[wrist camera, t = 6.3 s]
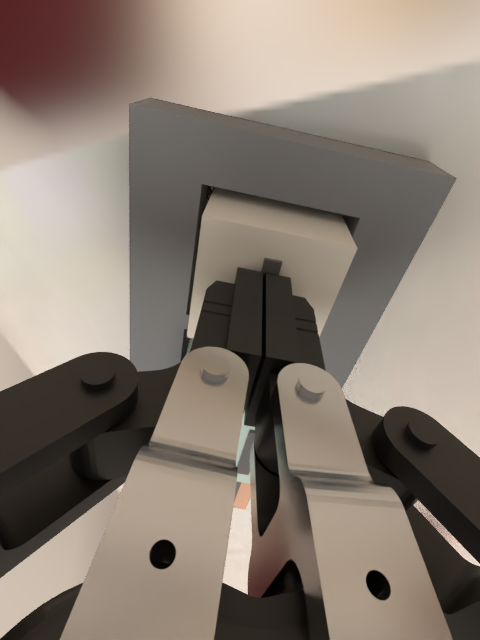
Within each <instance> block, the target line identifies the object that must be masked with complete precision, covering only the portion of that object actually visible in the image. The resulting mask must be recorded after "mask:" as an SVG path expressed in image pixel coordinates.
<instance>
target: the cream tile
mask: <svg viewBox="0 0 480 640" xmlns="http://www.w3.org/2000/svg"><path fill="white" fill-rule="evenodd" d="M357 249H358V248H357V246H356V244H355V242H354V240H353V238H352V236H351V234H350V232H349V229H348V227H347V225H346V223H345V221H344V219H343V217H342V215H341V214H338V213H334V212H329V211H324V210H320V209H315V208H310V207H306V206H301V205H297V204H292V203H287V202H283V201H278V200H273V199H269V198H264V197H260V196H255V195H250V194H246V193H241V192H236V191H232V190H227V189H223V188H218V187H214V190H213V192H212V194H211V196H210V199H209V201H208V203H207V206H206V208H205V210H204V213H203V215H202V221H201V229H200V236H199V244H198V252H197V260H196V268H195V276H194V283H193V291H192V299H191V307H190V315H189V323H188V330H187V337H188V338H193V339H194V335H195V331H196V327H197V323H198V319H199V316H200V312H201V308H202V304H203V301H204V297H205V293H206V289H207V288H208V287H209V286H210V285H212V284H213V283H214V282H215V281H216V280H217V281H222V282H228V283H233V284H234V282H235V277H236V272H237V268H238V267H240V268H245V269H250V270H255V271H260V272H263V276H264V274H265V272H266V273H271V274H276V275H281V276H286V277H290V278H291V285H292V294H293V295H294V296H299V297H304V298H306V300H307V301H308V302H309V304H310V305H311V306H312V308H313V309H314V313H315V318H316V324H317V328H318V334H319V337H320V334H321V332H322V330H323V327H324V325H325V323H326V320H327V318H328V316H329V314H330V311H331V309H332V307H333V304H334V302H335V300H336V297H337V295H338V293H339V290H340V288H341V286H342V283H343V281H344V279H345V276H346V274H347V272H348V269H349V267H350V265H351V262H352V260H353V258H354V255H355V253H356V251H357Z"/></svg>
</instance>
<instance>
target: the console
mask: <svg viewBox="0 0 480 640" xmlns="http://www.w3.org/2000/svg"><path fill="white" fill-rule="evenodd" d="M455 180H456V178H455V177H453V176H452V175H450V174H448V173H447V172H445V171H444V170H442V169H440V168H439V167H437V166H436V165H434V164H432V163H431V162H428V161H424V160H420V159H415V158H411V157H407V156H402V155H398V154H394V153H389V152H385V151H380V150H376V149H372V148H367V147H363V146H359V145H354V144H350V143H346V142H341V141H337V140H332V139H328V138H324V137H319V136H315V135H311V134H306V133H302V132H297V131H293V130H289V129H284V128H280V127H276V126H271V125H267V124H263V123H258V122H254V121H249V120H245V119H241V118H236V117H232V116H228V115H223V114H219V113H215V112H210V111H205V110H201V109H197V108H192V107H188V106H184V105H180V104H175V103H171V102H167V101H162V100H158V99H153V98H148V99H145V100H141V101H138V102H135V103H131V104H130V105H129V183H130V361H131V362H132V363H133V365H134V366H135V367H136V369H137V372H139V371H153V370H162V369H166V368H169V367H172V366H175V365H176V364H178V363H180V362H181V361H182V360H183V358H184V357H185V356H186V352H187V345H188V337H187V330H188V323H189V315H190V307H191V299H192V291H193V283H194V276H195V268H196V260H197V252H198V244H199V236H200V229H201V221H202V215H203V213H204V210H205V208H206V201H207V193H208V186H213V187H218V188H223V189H227V190H232V191H236V192H241V193H246V194H250V195H255V196H260V197H264V198H269V199H273V200H278V201H283V202H287V203H292V204H297V205H301V206H306V207H310V208H315V209H320V210H324V211H329V212H334V213H338V214H342V217H343V219H344V221H345V223H346V225H347V227H348V229H349V232H350V234H351V236H352V238H353V240H354V242H355V244H356V246H357V248H358V249H357V251H356V253H355V255H354V258H353V260H352V262H351V265H350V267H349V269H348V272H347V274H346V276H345V279H344V281H343V283H342V286H341V288H340V290H339V293H338V295H337V297H336V300H335V302H334V304H333V307H332V309H331V311H330V314H329V316H328V318H327V320H326V323H325V325H324V327H323V330H322V332H321V334H320V337H319V338H320V344H321V349H322V354H323V359H324V364H325V370H326V372H328V373H329V374H330V375H332V376H333V377H334V378H335V379H336V381H337V382H338V383H339V385H340V386H341V388H342V387H343V385H344V383H345V382H346V380H347V378H348V376H349V374H350V372H351V371H352V369H353V367H354V365H355V363H356V361H357V360H358V358H359V356H360V354H361V352H362V350H363V349H364V347H365V345H366V343H367V341H368V340H369V338H370V336H371V334H372V332H373V330H374V329H375V327H376V325H377V323H378V321H379V319H380V318H381V316H382V314H383V312H384V310H385V308H386V307H387V305H388V303H389V301H390V299H391V297H392V296H393V294H394V292H395V290H396V288H397V286H398V285H399V283H400V281H401V279H402V277H403V275H404V274H405V272H406V270H407V268H408V266H409V264H410V263H411V261H412V259H413V257H414V255H415V253H416V252H417V250H418V248H419V246H420V244H421V243H422V241H423V239H424V237H425V235H426V233H427V232H428V230H429V228H430V226H431V224H432V222H433V221H434V219H435V217H436V215H437V213H438V211H439V210H440V208H441V206H442V204H443V202H444V200H445V199H446V197H447V195H448V193H449V191H450V189H451V188H452V186H453V184H454V182H455Z"/></svg>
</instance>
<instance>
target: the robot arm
mask: <svg viewBox="0 0 480 640" xmlns="http://www.w3.org/2000/svg"><path fill="white" fill-rule="evenodd" d="M244 410H245V416H244V425H246V426H252V427H255V440H254V442H253V445H252V448H251V451H250V486H251V515H252V550H251V556H250V562H249V571H248V595H247V594H245V593H243V592H241V591H239V590H237V589H235V588H233V587H231V586H228V585H226V584H224V583H222V580H223V573H224V566H225V560H226V553H227V546H228V539H229V532H230V525H231V518H232V511H233V504H234V498H235V491H236V483H237V473H238V468H237V466H236V457H237V450H238V444H239V437H240V431H241V424H242V418H243V413H244ZM124 482H125V484H124V486H123V489H122V491H121V493H120V496H119V498H118V501H117V503H116V506H115V508H114V510H113V513H112V515H111V517H110V520H109V522H108V525H107V527H106V529H105V532H104V534H103V537H102V539H101V542H100V544H99V546H98V549H97V551H96V554H95V556H94V559H93V561H92V563H91V566H90V568H89V571H88V573H87V576H86V578H85V580H84V582H83V583H81V584H79V585H77V586H75V587H73V588H71V589H68V590H66V591H64V592H62V593H61V594H59V595H57V596H56V597H54V598H52V599H50V600H49V601H47V602H46V603H44V604H42V605H41V606H40V607H38V608H37V609H36V610H34V611H33V612H32V613H30V614H29V615H28V616H26V617H25V618H24V619H22V620H21V621H20V622H19V623H18V624H17V625H15V626H14V627H13V628H12V629H11V630H10V631H9V632H7V633H6V634H5V635H4V636H3V637H2V638H1V639H0V640H480V566H476V565H474V564H472V563H470V562H468V561H467V560H465V559H464V558H463V557H462V556H461V555H460V554H459V553H458V552H457V551H456V550H455V549H454V548H453V547H452V546H451V545H450V544H449V543H448V542H447V541H446V540H445V538H444V537H443V536H442V535H441V534H440V533H439V532H438V531H437V530H436V529H435V528H434V527H433V526H432V525H431V524H430V523H429V522H428V520H427V519H426V518H425V517H424V516H423V515H422V514H421V513H420V512H419V511H418V510H417V509H416V508H415V507H414V506H413V504H415V503H416V502H417V501H418V500H419V501H420V502H421V503H422V504H423V505H424V506H425V507H426V508H427V509H428V510H429V511H430V512H431V514H432V515H433V516H434V517H435V518H436V519H437V520H438V521H439V522H440V523H441V524H442V525H443V526H444V527H445V528H446V529H447V530H448V531H449V532H450V533H451V534H452V535H453V536H454V537H455V538H456V539H457V540H458V542H459V543H460V544H461V545H462V546H463V547H464V548H465V549H466V550H467V551H468V552H469V553H470V554H471V555H472V556H473V557H474V558H475V559H476V560H477V561H478V562H479V563H480V457H478V456H477V455H476V454H475V453H474V452H472V451H471V450H470V449H469V448H468V447H467V446H465V445H464V444H463V443H462V442H461V441H460V440H458V439H457V438H456V437H455V436H454V435H452V434H451V433H450V432H449V431H448V430H447V429H445V428H444V427H443V426H442V425H441V424H440V423H438V422H437V421H436V420H435V419H433V418H432V417H430V416H429V415H427V414H425V413H423V412H421V411H419V410H417V409H414V408H410V407H404V406H401V407H394V408H392V409H390V410H389V411H387V413H386V414H385V416H384V417H382V416H380V415H377V414H375V413H373V412H370V411H368V410H366V409H364V408H361V407H359V406H357V405H355V404H353V403H351V402H350V401H348V400H347V399H345V397H344V394H343V391H342V388H341V386H340V385H339V383H338V382H337V381H336V379H335V378H334V377H333V376H332V375H330V374H329V373H328V372H326V370H325V364H324V359H323V354H322V349H321V344H320V338H319V334H318V328H317V324H316V318H315V313H314V309H313V308H312V306H311V305H310V304H309V302H308V301H307V300H306V298H304V297H299V296H294V295H293V294H292V285H291V278H290V277H286V276H281V275H276V274H271V273H266V272H265V274H264V276H263V272H260V271H255V270H250V269H245V268H240V267H238V268H237V272H236V277H235V282H234V284H233V283H228V282H222V281H217V280H216V281H215V282H214V283H213V284H212V285H210V286H209V287H208V288H207V289H206V293H205V297H204V301H203V304H202V308H201V312H200V316H199V319H198V323H197V327H196V331H195V335H194V339H193V342H192V346H191V349H190V352H189V353H188V354H187V355H186V356H185V357H184V358H183V360H182V361H181V362H180V363H178V364H176V365H175V366H172V367H169V368H166V369H162V370H153V371H139V372H137V369H136V367H135V366H134V365H133V363H132V362H131V361H129V360H128V359H127V358H125V357H123V356H121V355H118V354H114V353H108V352H96V353H89V354H85V355H82V356H80V357H77V358H75V359H72V360H70V361H68V362H66V363H63V364H61V365H59V366H57V367H54V368H52V369H50V370H48V371H45V372H43V373H41V374H39V375H36V376H34V377H32V378H30V379H27V380H25V381H23V382H21V383H19V384H16V385H14V386H12V387H10V388H7V389H5V390H3V391H1V392H0V578H1V577H2V576H4V575H5V574H6V573H7V572H9V571H10V570H11V569H13V568H14V567H15V566H17V565H18V564H19V563H20V562H22V561H23V560H24V559H26V558H27V557H28V556H30V555H31V554H32V553H33V552H35V551H36V550H37V549H39V548H40V547H41V546H43V545H44V544H45V543H47V542H48V541H49V540H50V539H52V538H53V537H54V536H56V535H57V534H58V533H60V532H61V531H62V530H63V529H65V528H66V527H67V526H69V525H70V524H71V523H72V522H74V521H75V520H76V519H78V518H79V517H80V516H82V515H83V514H84V513H86V512H87V511H88V510H89V509H91V508H92V507H93V506H95V505H96V504H97V503H99V502H100V501H101V500H103V499H104V498H105V497H106V496H108V495H109V494H110V493H112V492H113V491H114V490H116V489H117V488H118V487H119V486H121V485H122V484H123V483H124Z"/></svg>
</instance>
